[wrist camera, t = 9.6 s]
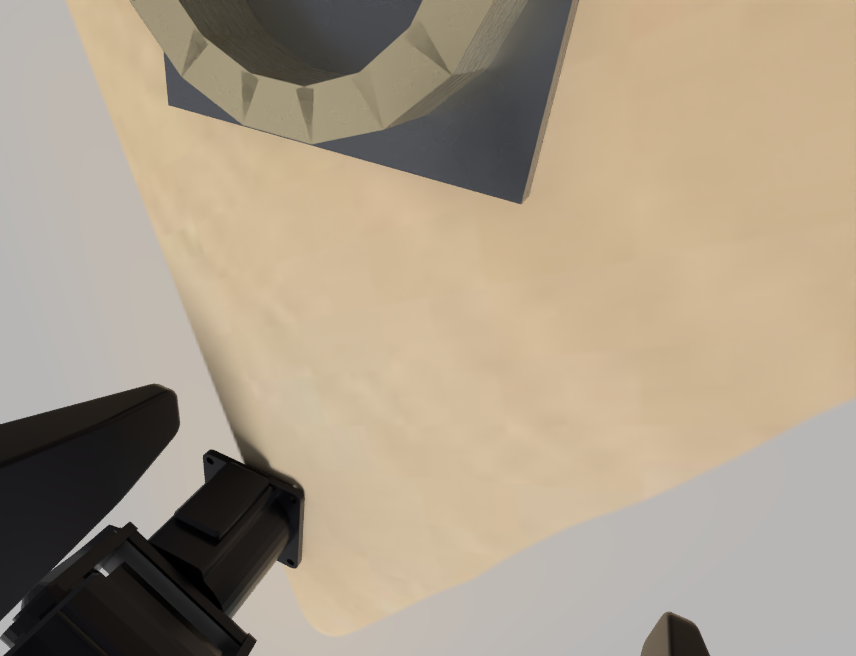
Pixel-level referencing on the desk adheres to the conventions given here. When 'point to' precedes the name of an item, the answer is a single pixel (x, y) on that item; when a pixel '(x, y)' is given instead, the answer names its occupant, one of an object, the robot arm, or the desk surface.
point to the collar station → (377, 78)
